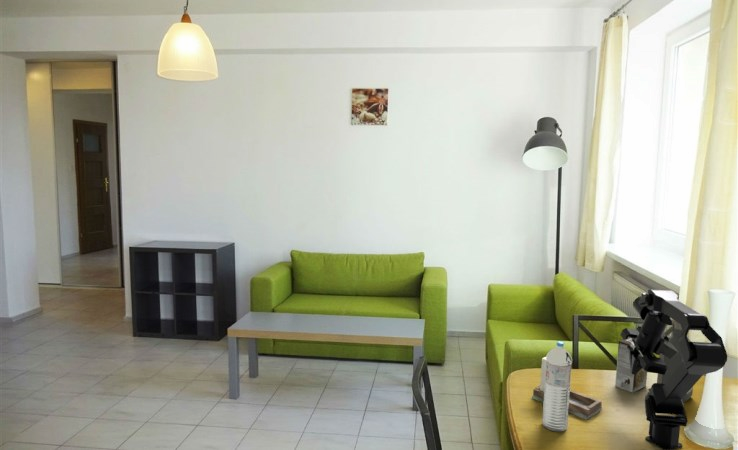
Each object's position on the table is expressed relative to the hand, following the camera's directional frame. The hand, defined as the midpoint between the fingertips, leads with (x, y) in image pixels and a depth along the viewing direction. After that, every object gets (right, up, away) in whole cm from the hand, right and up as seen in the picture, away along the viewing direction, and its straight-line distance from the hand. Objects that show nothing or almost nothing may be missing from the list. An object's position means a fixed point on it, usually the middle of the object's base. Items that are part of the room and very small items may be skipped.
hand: (632, 373), depth 153 cm
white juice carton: (-20, -10, +11) cm, 25 cm away
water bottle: (-26, -14, -6) cm, 30 cm away
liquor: (+22, -12, +16) cm, 29 cm away
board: (-17, -12, +8) cm, 22 cm away
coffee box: (+11, -11, +22) cm, 27 cm away
